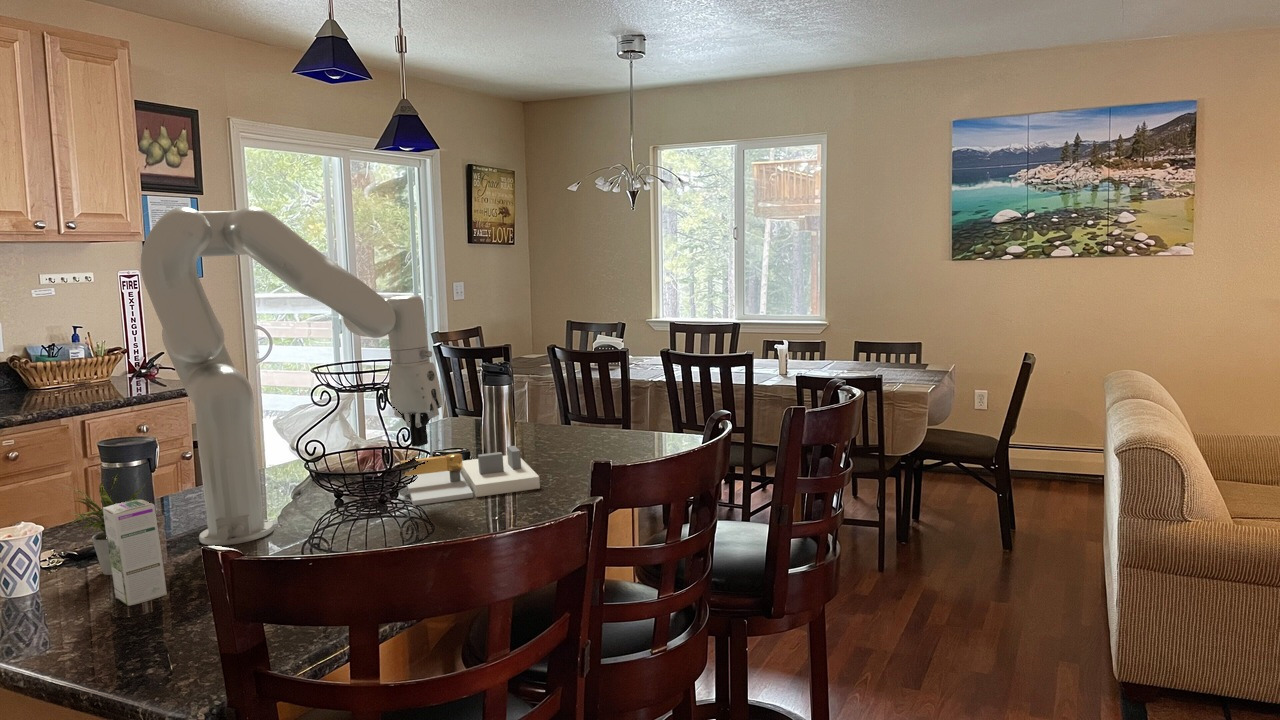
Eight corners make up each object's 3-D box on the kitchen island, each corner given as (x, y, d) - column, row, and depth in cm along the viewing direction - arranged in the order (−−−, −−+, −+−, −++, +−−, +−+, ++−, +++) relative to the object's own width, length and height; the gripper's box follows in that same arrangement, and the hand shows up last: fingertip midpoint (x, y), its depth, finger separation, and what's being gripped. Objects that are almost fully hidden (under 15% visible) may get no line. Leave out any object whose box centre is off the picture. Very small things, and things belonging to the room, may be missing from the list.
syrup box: (168, 594, 135) (157, 502, 133) (126, 607, 131) (114, 512, 129) (154, 586, 139) (143, 497, 137) (112, 599, 134) (100, 506, 133)
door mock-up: (540, 488, 186) (538, 458, 185) (413, 505, 177) (410, 474, 177) (517, 464, 208) (515, 437, 207) (404, 478, 200) (401, 450, 199)
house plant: (56, 571, 149) (43, 476, 147) (146, 549, 158) (135, 459, 156) (78, 591, 138) (65, 489, 137) (173, 565, 148) (161, 470, 146)
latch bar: (461, 466, 194) (460, 452, 193) (464, 469, 190) (462, 456, 190) (401, 473, 190) (400, 460, 189) (402, 477, 186) (401, 463, 186)
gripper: (451, 353, 179) (460, 442, 181) (394, 354, 185) (403, 439, 188) (427, 359, 172) (437, 451, 175) (368, 359, 179) (379, 448, 181)
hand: (420, 444), depth 181 cm, fingers closed
